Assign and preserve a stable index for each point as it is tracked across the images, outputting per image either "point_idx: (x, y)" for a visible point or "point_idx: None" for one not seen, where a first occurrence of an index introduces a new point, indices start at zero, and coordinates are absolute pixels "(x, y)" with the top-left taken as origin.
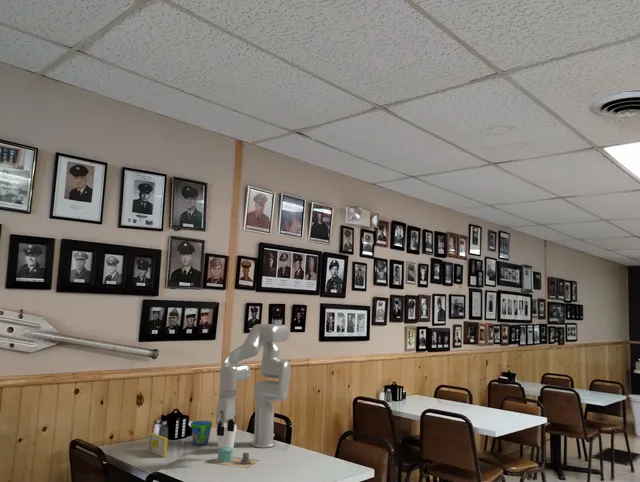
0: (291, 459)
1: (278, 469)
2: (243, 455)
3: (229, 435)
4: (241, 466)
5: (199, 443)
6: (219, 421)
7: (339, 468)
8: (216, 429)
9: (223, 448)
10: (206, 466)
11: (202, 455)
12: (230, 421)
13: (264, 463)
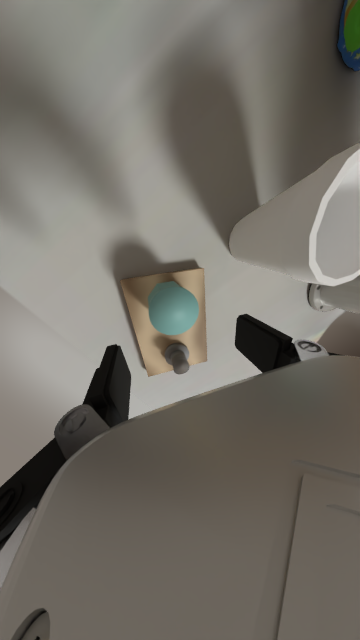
0: (246, 377)
1: (189, 394)
2: (173, 363)
3: (278, 268)
4: (149, 361)
5: (344, 23)
6: (2, 547)
7: None
8: (327, 164)
9: (173, 305)
10: (118, 266)
11: (211, 165)
12: (283, 364)
13: (210, 360)
